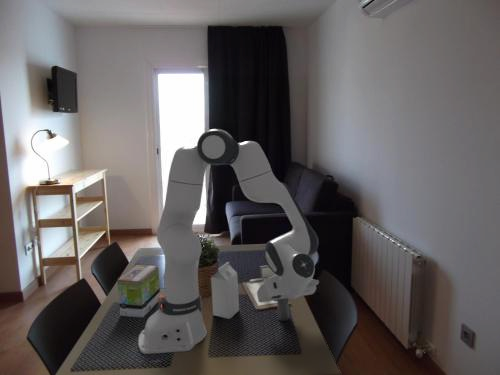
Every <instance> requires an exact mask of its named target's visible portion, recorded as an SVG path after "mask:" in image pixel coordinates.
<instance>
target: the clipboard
mask: <svg viewBox="0 0 500 375" xmlns="http://www.w3.org/2000/svg"><path fill="white" fill-rule="evenodd" d="M264 279H266V278H260V277H259V278H253V279H249V281H246V282H241V285H242V287H243V289H244V291H245V293H246V295H247V297H248V299H249V300H250V302H251V304H252V305H253V308H254V309H255V311H256V312H257V311H262V310H269V309H275V308H278V306H277V301H276V302H274V301H267V302H259V300H258V296H257V291H258V289H259V287H260V286H261V285H262V284H263V283H264ZM289 306H292V303H291V301H290V300H289Z"/></svg>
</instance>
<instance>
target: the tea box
mask: <svg viewBox="0 0 500 375" xmlns="http://www.w3.org/2000/svg"><path fill="white" fill-rule="evenodd" d="M160 285H161V284H160V272H159V266H158V265H145V264H144V265H143V264H136V265H135V266H133V267H132V268H130V269H129V270H128V271H126V273H124V274H123V275H122V276H121V277H119V278H118V279H117V290H118V291H117V292H118V303H119V304H118V305H119V315H120V316H122V317H133V318H144V317H145V316H146V315H147V314H148V313H149V312H150V311H151V310H152V308H154V307H155V306H156V305H157V304H158V303H159V302H158V297H159V296H160V295H161V286H160Z"/></svg>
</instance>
